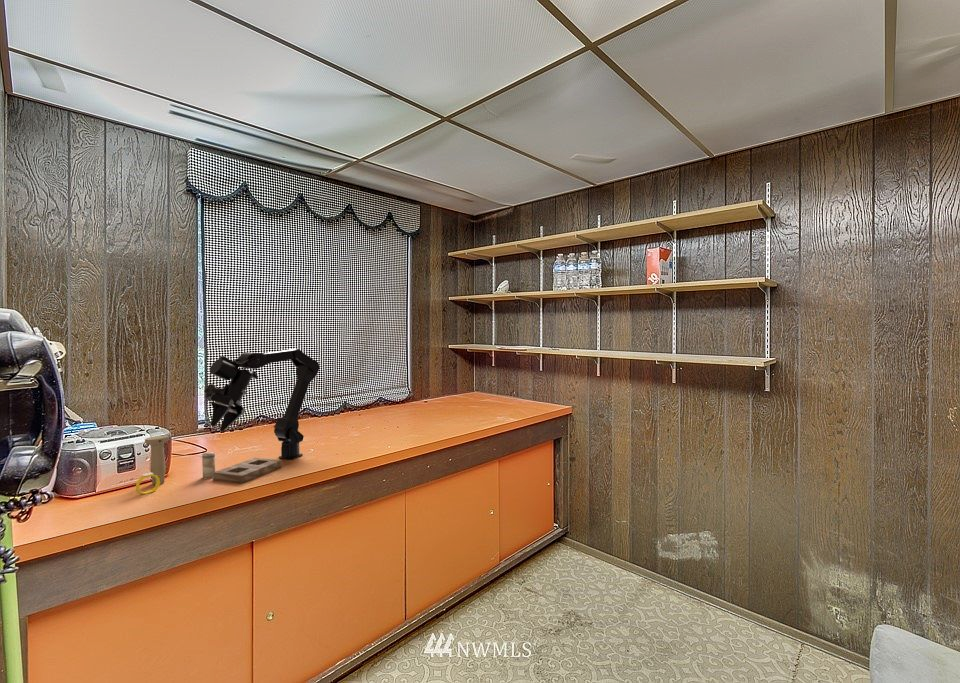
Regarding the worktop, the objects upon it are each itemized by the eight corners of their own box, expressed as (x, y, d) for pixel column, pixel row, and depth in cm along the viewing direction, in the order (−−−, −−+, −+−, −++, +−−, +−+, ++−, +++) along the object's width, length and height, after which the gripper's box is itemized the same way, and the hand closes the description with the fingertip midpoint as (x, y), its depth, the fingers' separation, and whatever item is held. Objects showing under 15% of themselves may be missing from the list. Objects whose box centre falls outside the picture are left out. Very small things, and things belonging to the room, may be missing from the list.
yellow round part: (140, 497, 136) (137, 478, 136) (135, 495, 138) (133, 476, 137) (162, 489, 142) (160, 471, 141) (157, 488, 143) (155, 470, 142)
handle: (172, 482, 149) (171, 436, 148) (149, 487, 144) (148, 440, 143) (166, 479, 152) (165, 434, 151) (143, 484, 146) (142, 438, 146)
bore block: (254, 464, 168) (254, 457, 168) (281, 467, 165) (281, 460, 165) (213, 479, 151) (212, 472, 151) (242, 483, 148) (241, 475, 147)
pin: (209, 474, 157) (208, 451, 156) (217, 475, 155) (217, 452, 155) (199, 478, 153) (199, 454, 153) (208, 479, 152) (208, 455, 152)
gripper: (223, 385, 167) (203, 426, 161) (205, 371, 150) (181, 416, 144) (253, 394, 168) (234, 435, 162) (239, 381, 151) (217, 426, 145)
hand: (217, 428), depth 153 cm, fingers open, 9 cm apart
